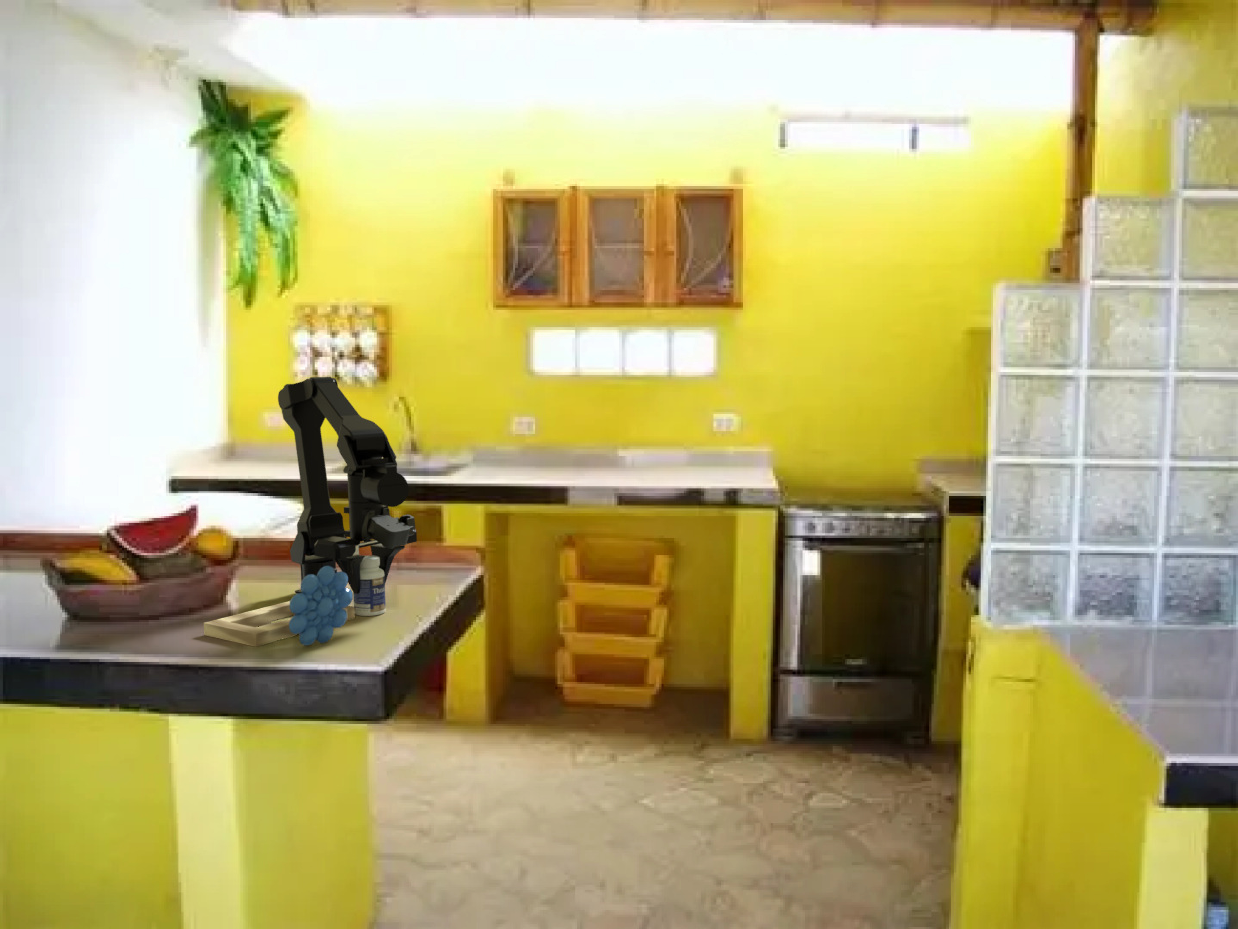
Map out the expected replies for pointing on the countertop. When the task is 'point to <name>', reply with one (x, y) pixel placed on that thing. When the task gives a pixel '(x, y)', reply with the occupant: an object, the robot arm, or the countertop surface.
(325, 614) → the blue ball flower
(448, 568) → the countertop surface
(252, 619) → the wooden frame
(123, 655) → the countertop surface
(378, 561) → the pill bottle
